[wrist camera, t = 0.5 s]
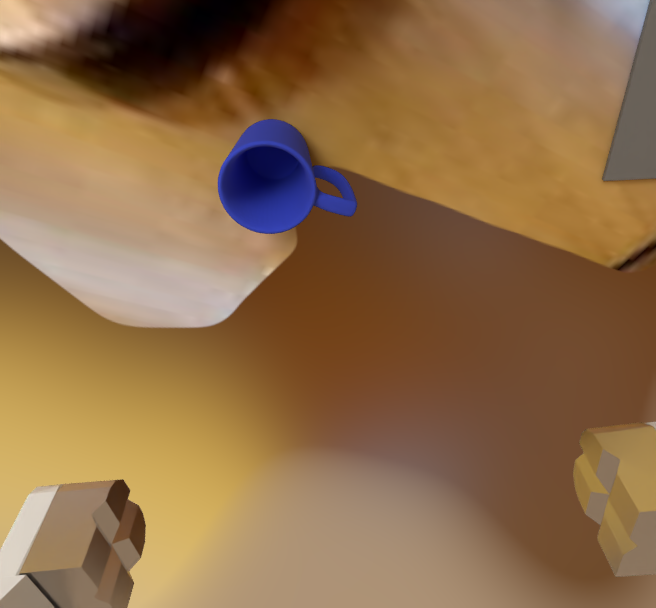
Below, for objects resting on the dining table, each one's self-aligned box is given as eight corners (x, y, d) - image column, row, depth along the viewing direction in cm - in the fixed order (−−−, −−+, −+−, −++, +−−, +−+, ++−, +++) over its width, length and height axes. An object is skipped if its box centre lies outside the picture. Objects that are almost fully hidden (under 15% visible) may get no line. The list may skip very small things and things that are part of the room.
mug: (337, 209, 56) (342, 255, 47) (224, 177, 53) (209, 220, 45) (363, 135, 51) (373, 172, 43) (242, 97, 49) (228, 128, 41)
